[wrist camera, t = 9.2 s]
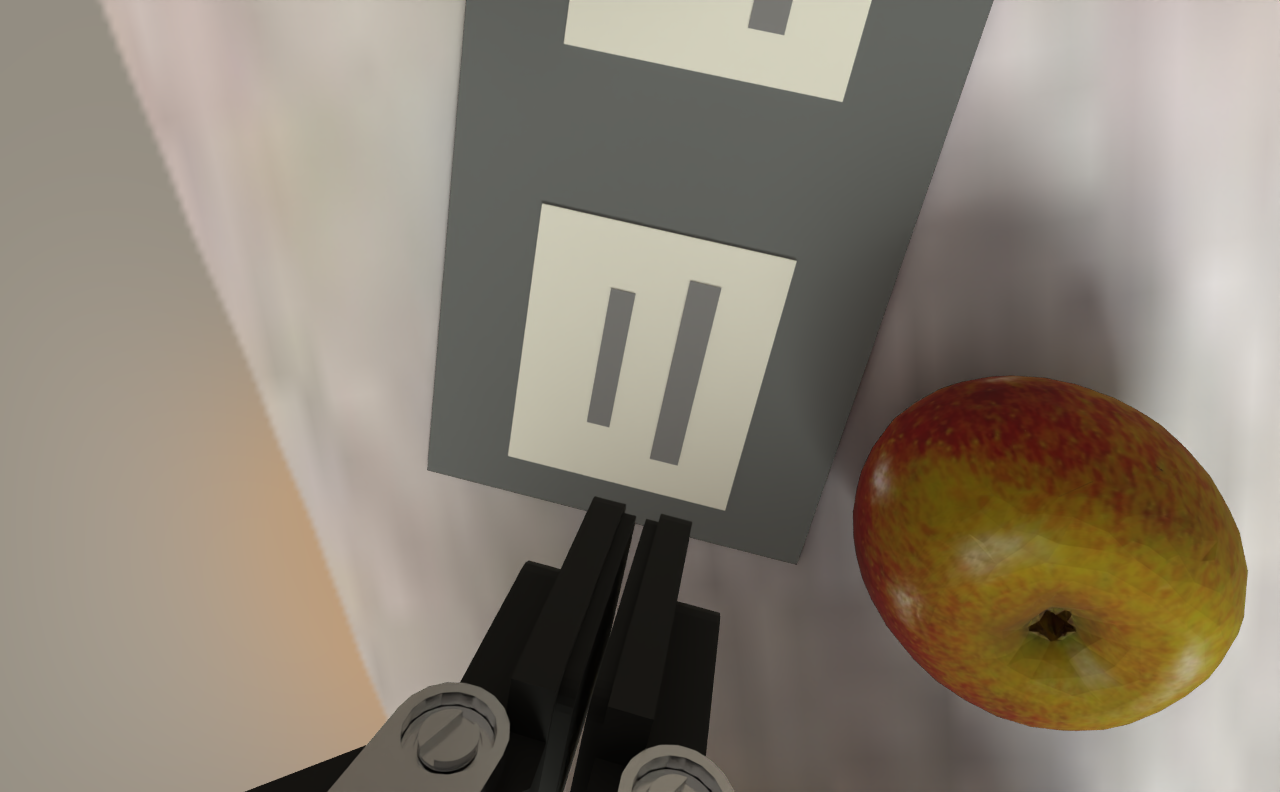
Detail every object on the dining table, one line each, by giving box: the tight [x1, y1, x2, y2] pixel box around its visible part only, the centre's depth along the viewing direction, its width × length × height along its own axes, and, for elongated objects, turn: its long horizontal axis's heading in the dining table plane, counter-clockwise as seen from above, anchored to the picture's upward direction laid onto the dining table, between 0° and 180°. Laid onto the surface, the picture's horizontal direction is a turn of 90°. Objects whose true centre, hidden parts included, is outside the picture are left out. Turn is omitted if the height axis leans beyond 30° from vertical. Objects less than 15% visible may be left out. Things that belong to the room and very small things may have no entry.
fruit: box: [853, 376, 1248, 731], centre depth 19 cm, size 10×9×8 cm
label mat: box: [427, 0, 994, 565], centre depth 20 cm, size 26×14×1 cm, turn 169°
